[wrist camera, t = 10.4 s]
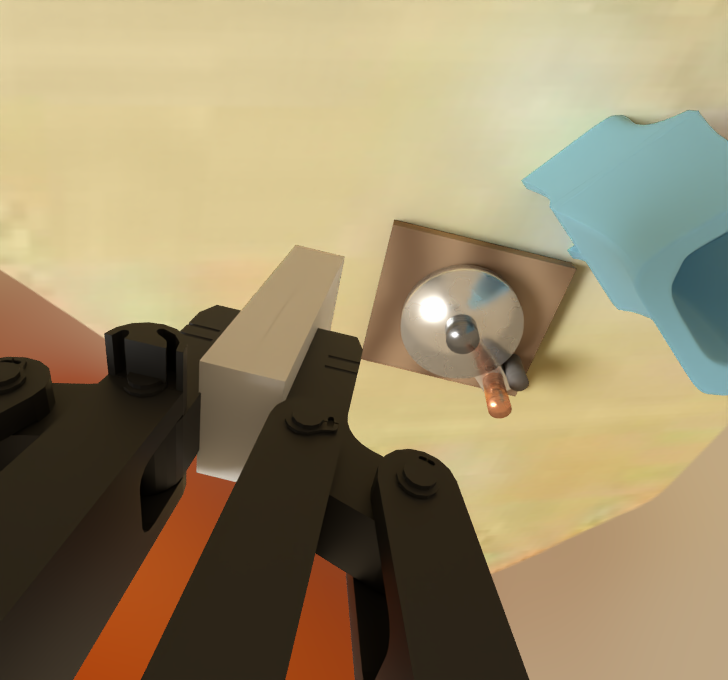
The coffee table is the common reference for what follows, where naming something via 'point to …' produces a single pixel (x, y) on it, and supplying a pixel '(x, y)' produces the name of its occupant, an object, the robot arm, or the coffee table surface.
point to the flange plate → (459, 300)
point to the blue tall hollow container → (653, 228)
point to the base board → (440, 249)
